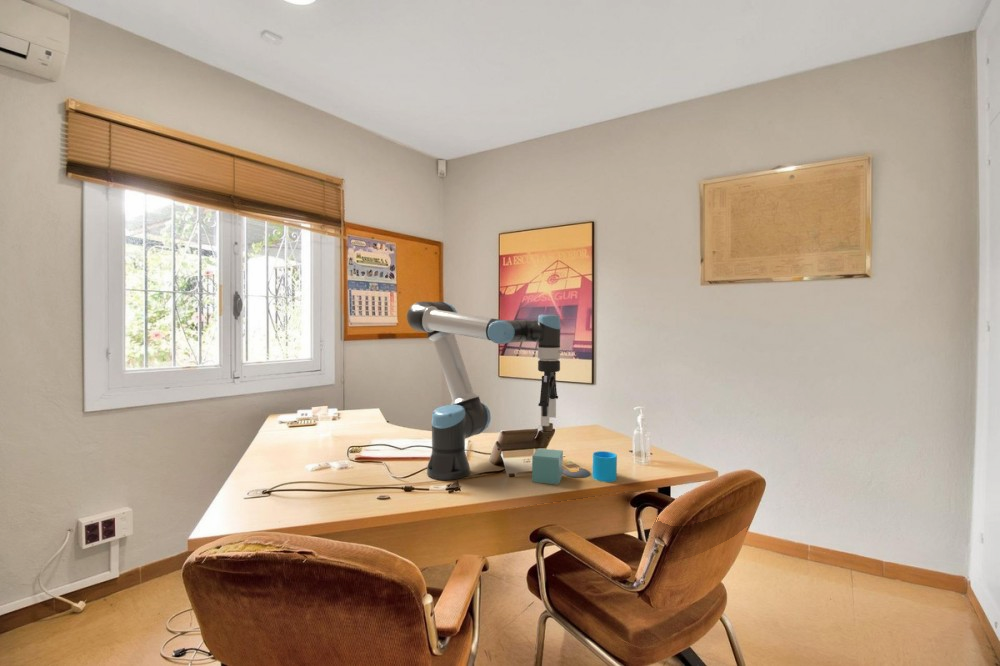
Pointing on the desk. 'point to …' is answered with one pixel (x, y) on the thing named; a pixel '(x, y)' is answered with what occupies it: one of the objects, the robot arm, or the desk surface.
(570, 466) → the desk surface
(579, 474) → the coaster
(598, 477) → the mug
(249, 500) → the desk surface
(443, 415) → the robot arm
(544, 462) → the matte teal cube
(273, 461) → the desk surface
